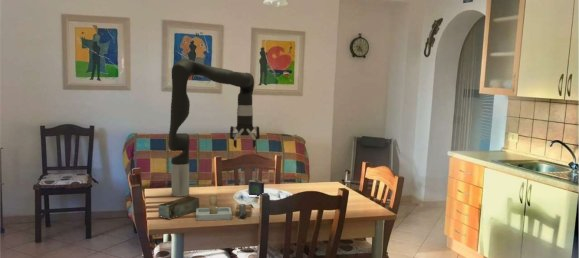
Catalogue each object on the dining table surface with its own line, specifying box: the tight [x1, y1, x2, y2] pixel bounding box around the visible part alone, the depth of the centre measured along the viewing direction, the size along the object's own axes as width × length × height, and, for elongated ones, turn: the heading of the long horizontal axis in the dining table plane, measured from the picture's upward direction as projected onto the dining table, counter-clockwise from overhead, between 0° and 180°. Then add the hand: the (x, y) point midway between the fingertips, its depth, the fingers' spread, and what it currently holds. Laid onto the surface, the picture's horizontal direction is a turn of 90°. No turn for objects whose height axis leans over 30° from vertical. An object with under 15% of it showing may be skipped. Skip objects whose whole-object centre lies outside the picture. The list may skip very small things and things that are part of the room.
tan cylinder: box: [208, 193, 218, 214], centre depth 217 cm, size 4×4×9 cm
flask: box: [247, 177, 265, 196], centre depth 251 cm, size 9×3×11 cm, turn 65°
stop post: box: [238, 203, 247, 220], centre depth 216 cm, size 3×3×6 cm
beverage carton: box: [157, 195, 200, 219], centre depth 221 cm, size 8×19×7 cm, turn 145°
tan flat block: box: [234, 204, 252, 218], centre depth 223 cm, size 10×7×3 cm
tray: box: [195, 206, 233, 221], centre depth 218 cm, size 11×16×2 cm
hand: (244, 147), depth 228 cm, fingers open, 8 cm apart
